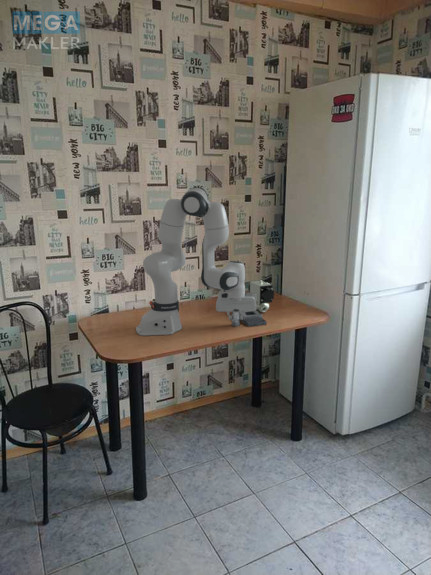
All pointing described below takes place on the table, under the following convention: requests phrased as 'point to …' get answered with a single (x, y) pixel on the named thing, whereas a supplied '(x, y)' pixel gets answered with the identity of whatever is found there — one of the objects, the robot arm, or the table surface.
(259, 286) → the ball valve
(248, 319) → the square-holed grey plate
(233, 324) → the pin
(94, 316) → the table surface
